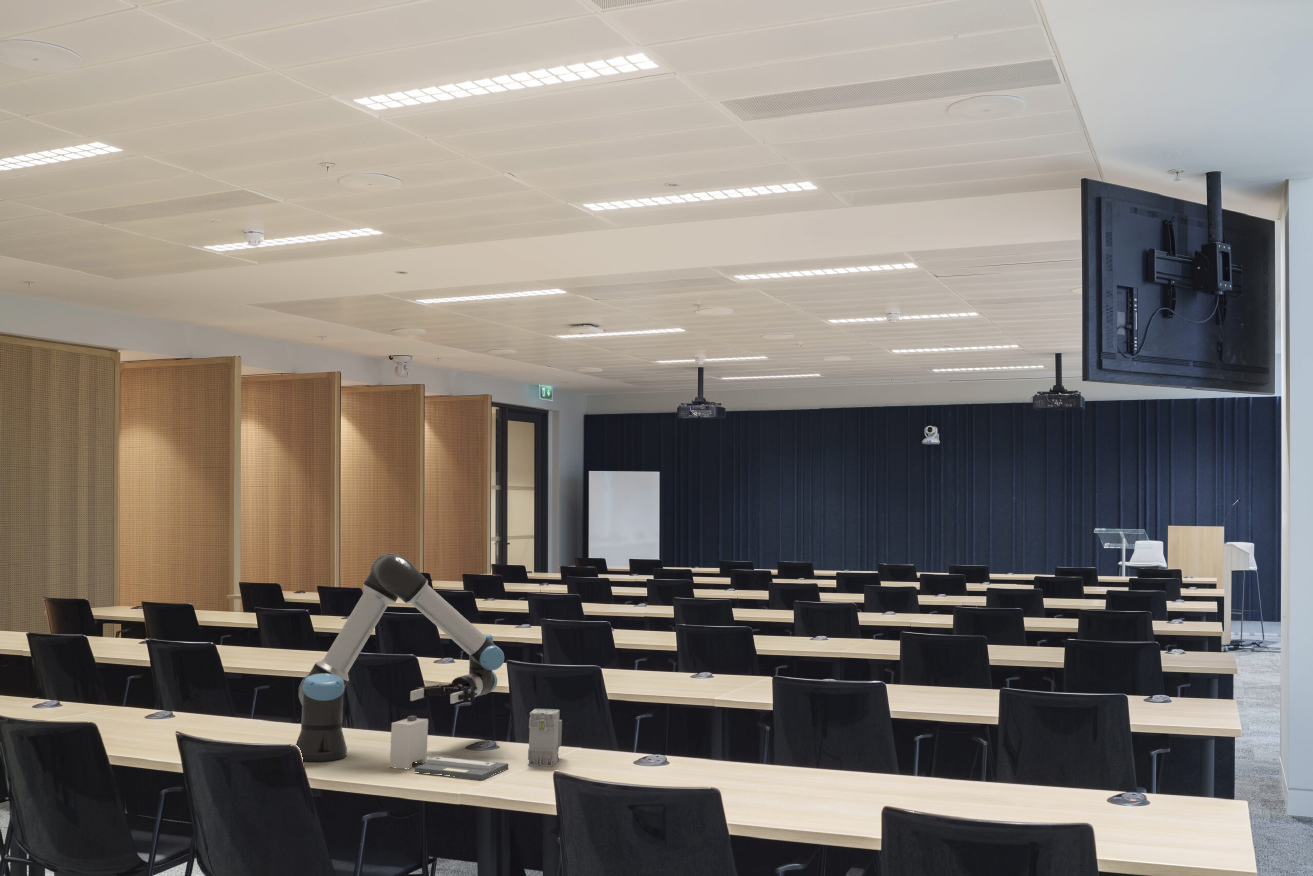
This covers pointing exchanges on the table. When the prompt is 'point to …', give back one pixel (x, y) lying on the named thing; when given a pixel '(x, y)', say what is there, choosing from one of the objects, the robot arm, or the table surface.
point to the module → (408, 742)
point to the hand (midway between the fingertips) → (431, 697)
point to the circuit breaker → (544, 736)
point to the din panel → (461, 767)
